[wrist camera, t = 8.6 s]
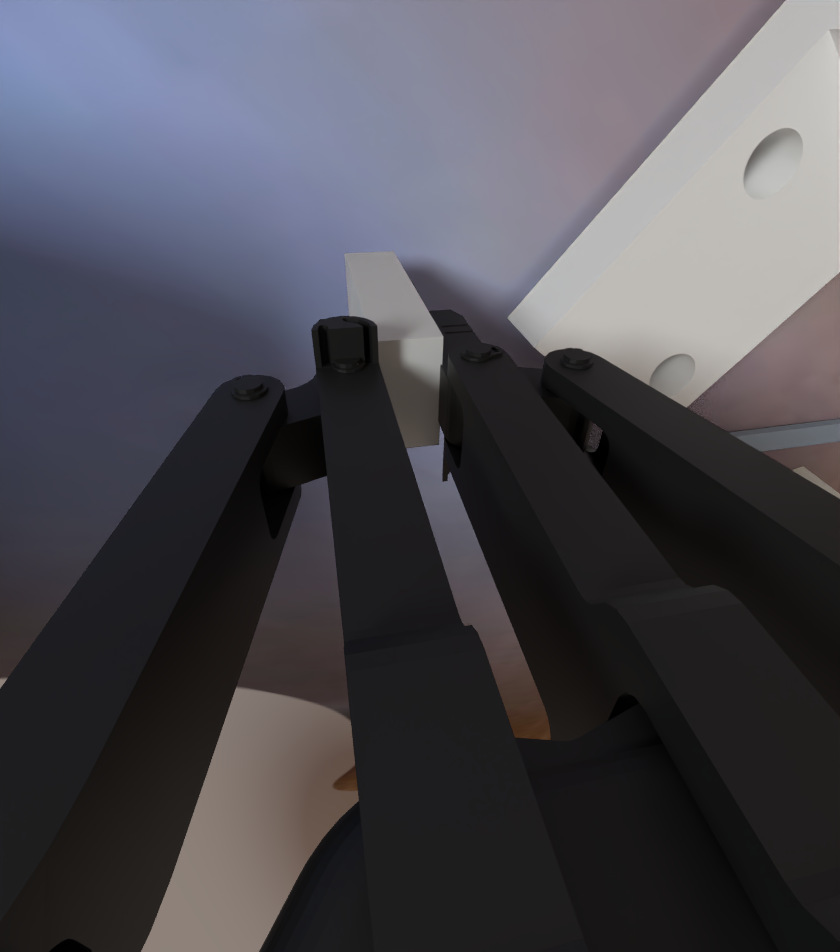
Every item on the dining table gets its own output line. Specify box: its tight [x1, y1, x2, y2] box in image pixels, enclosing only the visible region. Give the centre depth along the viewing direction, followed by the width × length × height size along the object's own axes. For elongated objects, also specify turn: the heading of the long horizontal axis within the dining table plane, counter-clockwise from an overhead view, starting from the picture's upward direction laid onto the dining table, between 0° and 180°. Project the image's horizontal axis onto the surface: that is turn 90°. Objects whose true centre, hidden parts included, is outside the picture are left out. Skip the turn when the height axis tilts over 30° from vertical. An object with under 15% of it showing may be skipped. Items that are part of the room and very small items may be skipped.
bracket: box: [507, 0, 840, 408], centre depth 16 cm, size 13×7×8 cm, turn 140°
